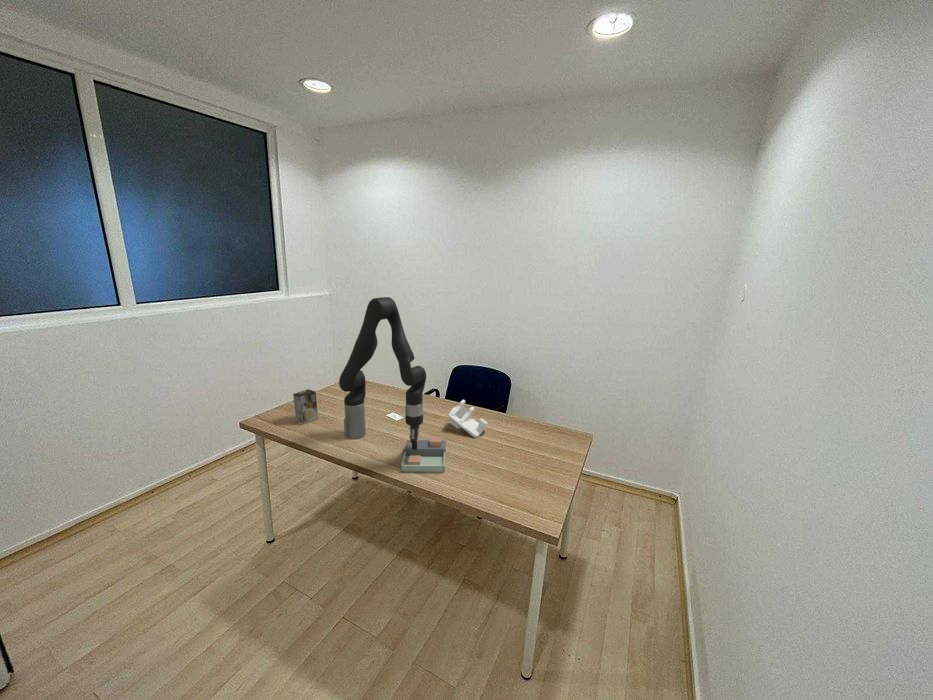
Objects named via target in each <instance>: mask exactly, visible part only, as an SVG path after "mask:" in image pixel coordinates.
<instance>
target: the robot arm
mask: <svg viewBox="0 0 933 700" xmlns="http://www.w3.org/2000/svg"><path fill="white" fill-rule="evenodd" d="M382 320H387V322H388V323H389V326H390V329H391V348H392V350H393V351H392V352H393V353H394V355H395V357H396V360H397V363H398V369H399V373H400V378H401V381H402V383H404V384H405V386H408V387H409V388H408V389H407V390H406V392H405V410H404V411H405V414H404V415H405V416H404V417H405V424H406V425H407V426H409V430H408V431H409V440H410V441H411V443H412V449H413V450H416V449H417V441H418V440H419V434H420V431H419V430H420V426H421V425H422V424H423V422H424V403H423V401H424V399H423V393H424V390H425V386H426V382H427V372H426V370H425V368H424V367H423V366H422V365H416V366H413V367H412V365H411V364H412V362H413V361H414V360H415V356H414V355H415V354H414V352H413V350H412V348H411V345H410V343H409V341H408V340H407V336H406V334H405V330H404V326H403V324H402V323H403V322H402V319H401V317H400V311H399V308H398V306H397V303H396V302H395V300H394V299H393V298H392V297H389V296H382V297H375V298H372V299H370V300H369V301H368V304H367V307H366V310H365V314H364V317H363V322H362V325H361V328H360V330H359V333H358V335H357V338H356V339H355V342H354V344H353V349H352V351H351V353H350V356H349V358H348V361H347V362H346V365H345V366H344V368H343V370H342V372H341V374H340V375H339V379H338V385H339V388H340V390H341V391H342V392H346V393H347V395H346V396H345V397H344V399H343V402H344V419H343V426H344V427H343V428H344V438H348V439H351V440H356V439H360V438H363V437H364V436H366V434H367V433H366V432H367V430H366V413H365V399H366V386H367V385H366V376H365V374H364V372H363V371H362V370H361V369H363V367H364V366H365V365H366V364H368V362H369V361H370V360H371V359H372V357H373V356H374V355H375V352H376V349H377V347H378V337H377V332H376V330H377V327H379V323H380V322H381V321H382ZM348 392H349V393H348Z"/></svg>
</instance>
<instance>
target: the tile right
mask: <svg viewBox="0 0 933 700" xmlns="http://www.w3.org/2000/svg"><path fill="white" fill-rule="evenodd" d="M429 440H430V447H441V440H443V439H442V436H435V435H434V436H433V435H432V436H430V439H429Z"/></svg>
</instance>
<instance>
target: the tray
mask: <svg viewBox="0 0 933 700" xmlns="http://www.w3.org/2000/svg"><path fill="white" fill-rule="evenodd" d="M408 459H409V456H406V451H405V450H404V453H403V457H402V460H401V464H400V472H401V473H439V474H440V473H442V474H443V473H445V469H446V452H444V457H428V456H421V463H420V465H408Z"/></svg>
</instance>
